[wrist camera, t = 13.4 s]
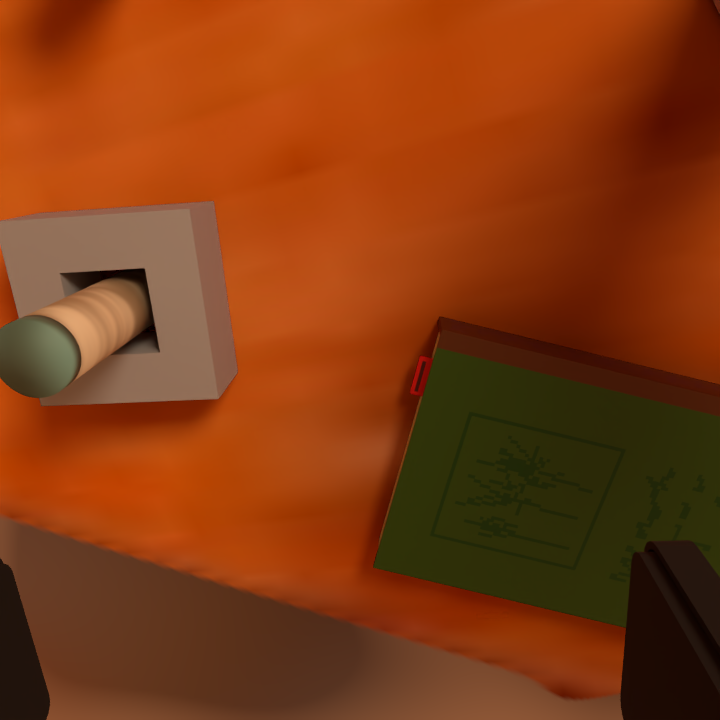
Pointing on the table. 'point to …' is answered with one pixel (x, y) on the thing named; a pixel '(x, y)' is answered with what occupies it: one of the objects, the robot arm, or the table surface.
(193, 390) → the socket block
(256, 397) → the table surface
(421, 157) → the table surface
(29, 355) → the long dowel
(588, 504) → the hardcover book
